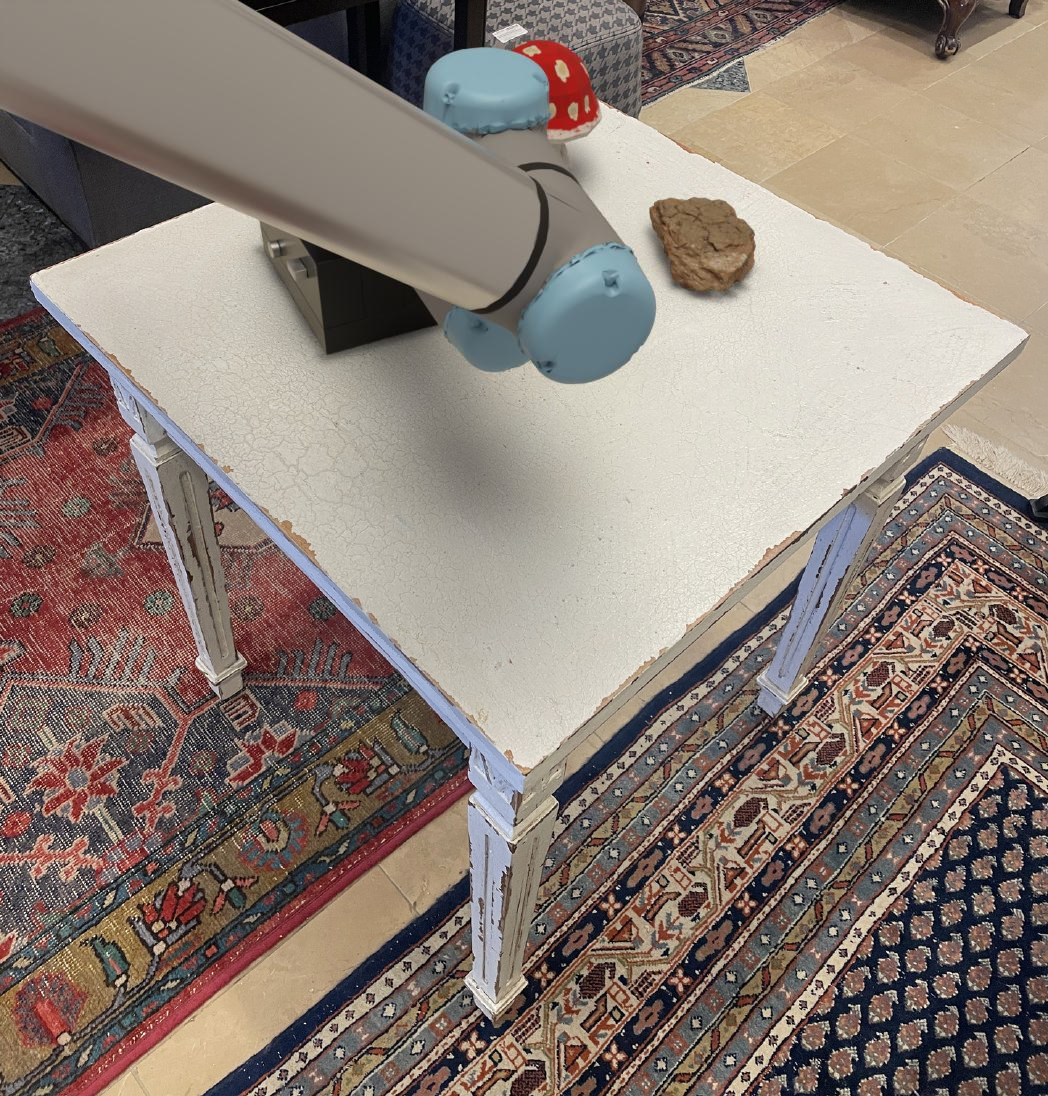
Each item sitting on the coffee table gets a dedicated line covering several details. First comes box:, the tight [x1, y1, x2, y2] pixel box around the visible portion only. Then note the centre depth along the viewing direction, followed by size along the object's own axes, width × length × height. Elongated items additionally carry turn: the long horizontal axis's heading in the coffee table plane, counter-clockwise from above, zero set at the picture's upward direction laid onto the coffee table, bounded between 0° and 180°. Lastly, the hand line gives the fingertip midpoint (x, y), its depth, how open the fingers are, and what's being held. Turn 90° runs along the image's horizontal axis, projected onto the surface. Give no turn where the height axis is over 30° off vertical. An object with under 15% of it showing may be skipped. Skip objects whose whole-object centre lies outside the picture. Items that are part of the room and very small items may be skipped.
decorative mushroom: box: [510, 39, 603, 169], centre depth 106 cm, size 14×14×15 cm
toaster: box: [259, 221, 439, 356], centre depth 93 cm, size 13×18×10 cm
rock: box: [648, 196, 757, 292], centre depth 101 cm, size 13×11×5 cm
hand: (313, 77), depth 85 cm, fingers closed on toast, 2 cm apart
